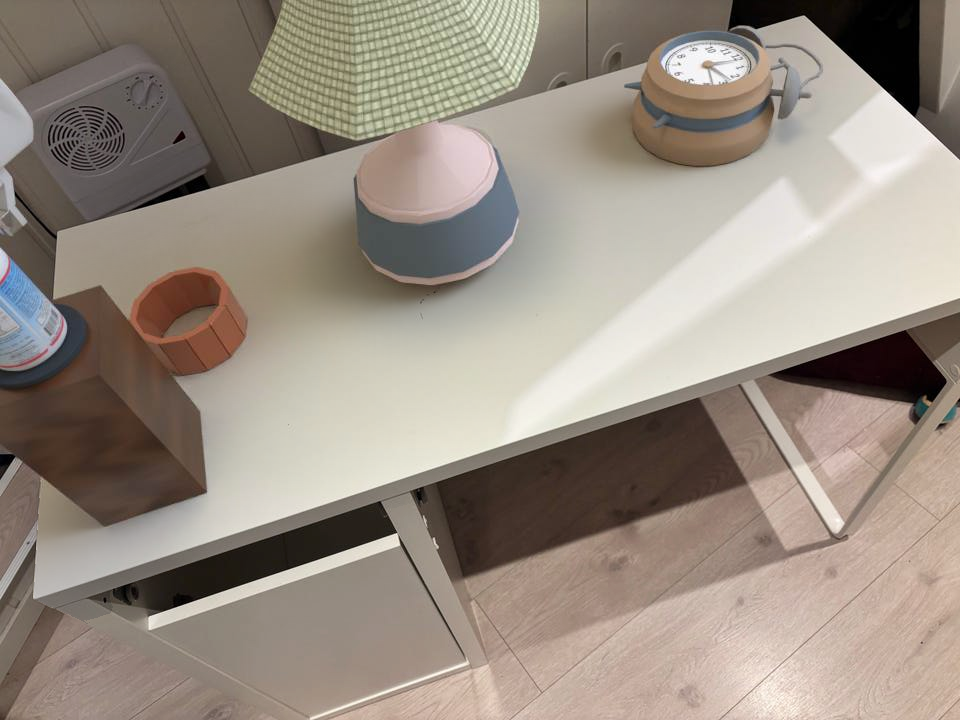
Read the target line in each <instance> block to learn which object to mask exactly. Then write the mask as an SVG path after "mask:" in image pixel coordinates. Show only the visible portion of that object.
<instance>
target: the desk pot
mask: <svg viewBox="0 0 960 720" xmlns="http://www.w3.org/2000/svg"><path fill="white" fill-rule="evenodd" d="M214 305H216V306H217V307H216V308H215V309H214V310H213V311H212V313H211V314H210V315H209V316H208V318H207V319H206V321H205V322H203V323H201V324H200V325H198V326H196V327H194V328H193V329H191V330H189V331H188V332H186V333H184V334H179V335H173V336H167V337H163V336H164V334H165V333H166V331H168V329H169V328H170V326H172V324H173V323H174V322H175V320H176V319H178V318H180V317H181V316H183V315H185V314H187V313H188V312H190V311H192V310H193V309H196V308H201V307H207V306H214ZM128 320H129V322H130V323H131V324H132V325H133V327H134V328H135V329H136V330H137V332H138V333H139V334H140V336H141V337H142V338H143V339H144V341H145V342H146V343H147V344H148V346H149V347H150V348H151V350H152V351H153V352H154V353H155V355H156V356H157V357H158V358H159V360H160V361H161V362H162V364H163V365H164V366H165V367H166V369H167V370H168V371H169V372H170V373H174V374H178V375H181V376H185V375H193V374H197V373H204V372H208V371H210V370H212V369H214V368H215V367H216V366H218V365H220V364H221V363H223V362H225V361H227V360H228V359H230V358H231V357H232V356H233V355H234V354H235V352H236V351H237V349H238V348H239V347H240V345H241V344H242V342H243V341H244V340H245V338H246V336H247V335H246V334H247V326H248V325H247V324H248V318H247V315H246V313H245V312H244V310H243V309H242V307H241V305H240V304H239V302H238V300H237V298H236V296H235V295H234V293H233V292H232V289H230V287H229V285H228V283H227V282H226V281H225V280H224V278H223V276H221V273H219V272H218V271H216V270H212V269H209V268H204V267H201V266H193V267H187V268H182V269H177V270H174V271H170V272H169V273H167V274H164V275H163V276H161V277H160V278H157V279H156V280H154V281H152V282H150V284H148V285H147V286H146V287H145V288H144V289H143V290H142V292H141V293H140V294H139V295H138V296H137V297H136V299H134V301H133V303H132V306H131V310H130V315H129V319H128Z"/></svg>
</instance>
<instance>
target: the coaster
mask: <svg viewBox="0 0 960 720" xmlns="http://www.w3.org/2000/svg"><path fill="white" fill-rule="evenodd" d="M53 305H54V307H55V308H56V309H57V310H58V311H59V312H60V313H61V314H62V316H63V317H64V319H65V321H66V323H67V333H66V336H65V339H64V341H63V343H62V344H61V346H60V347H59V348H58V350H57V351H56V352H55V353H54V354H53V355H52V356H51V357H49V358H48V359H47V360H45V361H44V362H42V363H41V364H39V365H37V366H35V367H32V368H30V369H27V370H21V371H7V370H3V369H0V387H4V388H10V389H18V388H26V387H30V386H34V385H36V384H39V383H42V382H44V381H46V380H48V379H50V378H51V377H53V376H55V375H56V374H58V373H59V372H61V371H62V370H63V369H65V368H66V367H67V366H68V365H69V364H70V363H71V362H72V361H73V360H74V359H75V358H76V356H77V355H78V354H79V352H80V351H81V349H82V347H83V345H84V343H85V340H86V337H87V325H86V322H85V320H84V318H83V317H82V316H81V314H80V313H79V312H78V311H77V310H75V309H74V308H72V307H70V306H67V305H62V304H53Z"/></svg>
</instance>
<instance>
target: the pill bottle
mask: <svg viewBox="0 0 960 720" xmlns="http://www.w3.org/2000/svg"><path fill="white" fill-rule="evenodd" d="M50 301H51V300H49V299H48V298H47V296H45V294H44V293H43V292H42V291H41V290H40V289H39V288H38V286H37V285H35V283H33V281H32V280H31V279H30V278H29V277H28V275H26V274H25V272H24V271H23V270H22V268H20V267H19V266H18V265H17V264H16V262H15V261H13V259H12V258H11V257H10V256H9V255H8V254H7V253H6V251H4V250H3V248H2V247H0V369H3V370H7V371H21V370H27V369H30V368H32V367H35V366H37V365H39V364H41V363H42V362H44V361H45V360H47V359H48V358H49V357H51V356H52V355H53V354H54V353H55V352H56V351H57V350H58V348H59V347H60V346H61V344H62V343H63V341H64V339H65V336H66V333H67V323H66V321H65V319H64V317H63V316H62V314H61V313H60V312H59V311H58V310H57V309H56V308H55V307H54V305H53V304H52V303H51V302H50Z"/></svg>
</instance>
